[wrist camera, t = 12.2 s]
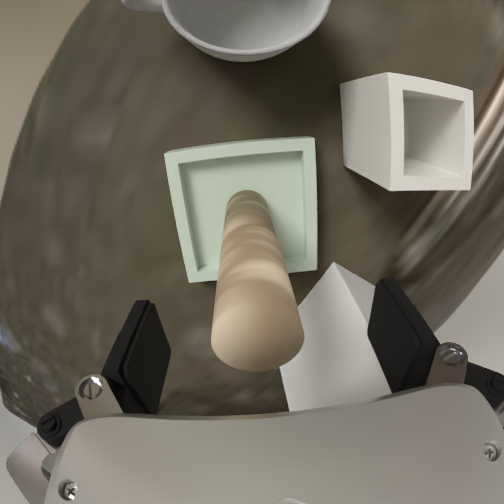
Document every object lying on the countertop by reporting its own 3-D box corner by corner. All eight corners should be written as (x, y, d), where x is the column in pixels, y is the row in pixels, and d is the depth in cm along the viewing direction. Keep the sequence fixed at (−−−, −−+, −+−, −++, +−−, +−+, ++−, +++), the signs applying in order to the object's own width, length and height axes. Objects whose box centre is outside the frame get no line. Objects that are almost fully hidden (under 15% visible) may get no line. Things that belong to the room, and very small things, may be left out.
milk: (272, 336, 33) (303, 564, 10) (333, 261, 29) (453, 519, 6) (344, 363, 36) (398, 537, 13) (402, 303, 32) (505, 481, 9)
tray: (308, 136, 23) (314, 137, 21) (311, 258, 29) (316, 269, 27) (170, 150, 23) (164, 153, 21) (192, 270, 29) (189, 282, 27)
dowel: (266, 187, 24) (305, 300, 10) (269, 226, 26) (303, 366, 12) (223, 192, 24) (202, 310, 10) (228, 231, 26) (219, 374, 12)
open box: (410, 90, 21) (472, 90, 13) (412, 165, 25) (470, 190, 16) (339, 84, 21) (387, 72, 13) (343, 165, 25) (389, 191, 16)
